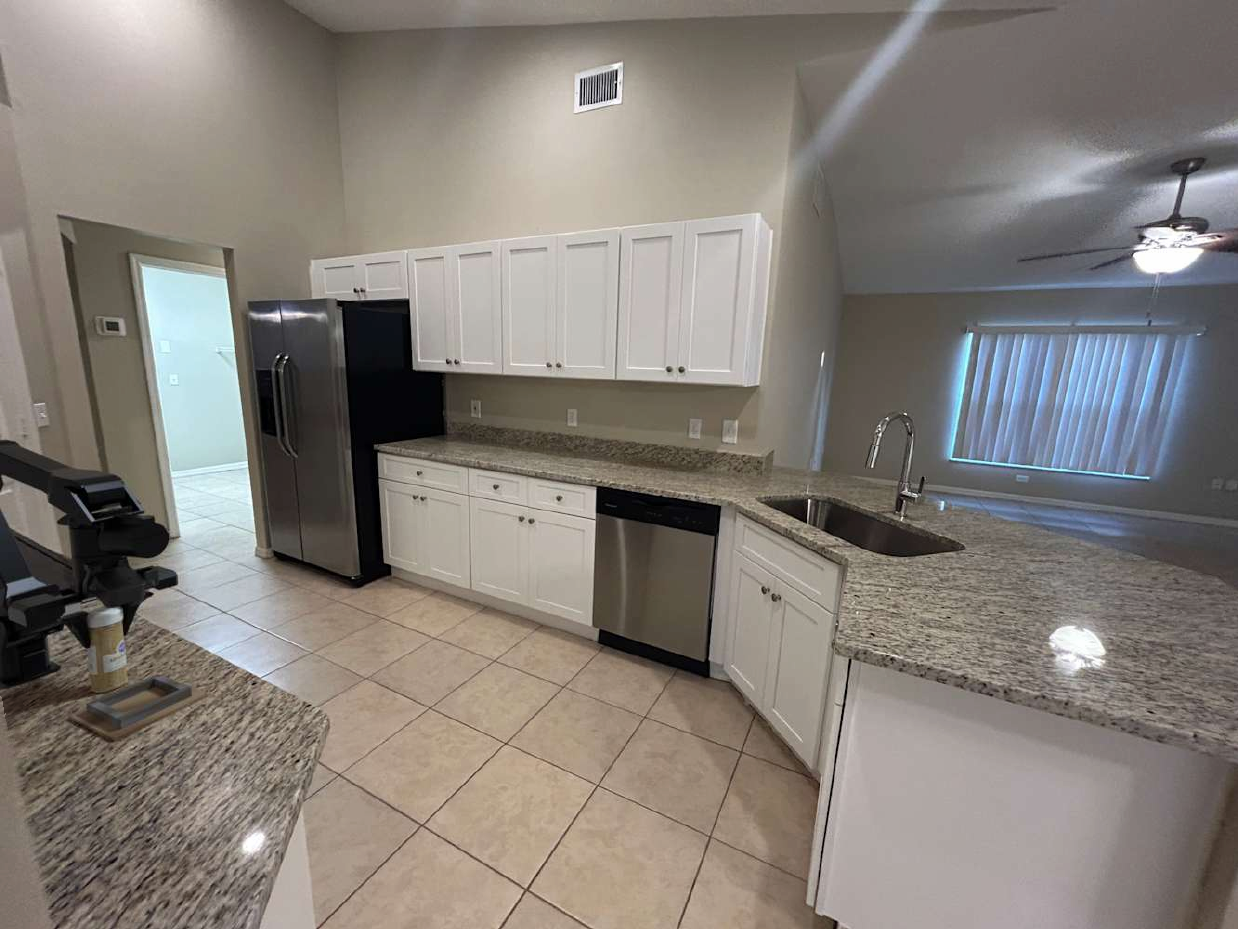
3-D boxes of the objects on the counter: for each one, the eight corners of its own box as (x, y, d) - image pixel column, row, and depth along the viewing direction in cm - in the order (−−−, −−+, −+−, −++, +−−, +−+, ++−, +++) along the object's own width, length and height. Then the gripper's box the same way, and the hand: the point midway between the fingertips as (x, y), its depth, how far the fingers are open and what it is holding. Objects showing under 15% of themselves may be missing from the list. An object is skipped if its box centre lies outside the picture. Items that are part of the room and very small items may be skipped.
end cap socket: (68, 718, 75) (67, 706, 75) (163, 678, 86) (163, 667, 86) (114, 741, 71) (113, 729, 71) (208, 696, 82) (207, 685, 82)
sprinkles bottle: (124, 689, 83) (118, 613, 81) (86, 697, 80) (78, 619, 78) (131, 675, 87) (125, 603, 85) (95, 682, 84) (88, 608, 82)
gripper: (41, 580, 69) (52, 683, 71) (195, 544, 86) (200, 628, 88) (0, 565, 72) (12, 664, 75) (156, 535, 90) (162, 615, 92)
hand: (105, 641), depth 82 cm, fingers closed on sprinkles bottle, 4 cm apart
